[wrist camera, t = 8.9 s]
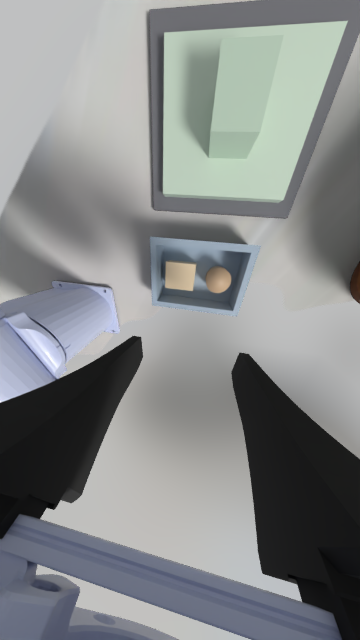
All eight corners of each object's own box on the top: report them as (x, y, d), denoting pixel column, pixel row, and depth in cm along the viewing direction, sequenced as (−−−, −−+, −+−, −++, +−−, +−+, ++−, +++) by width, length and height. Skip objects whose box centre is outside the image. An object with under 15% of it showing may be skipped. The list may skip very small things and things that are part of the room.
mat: (154, 210, 14) (153, 209, 13) (151, 18, 9) (149, 9, 8) (284, 218, 13) (287, 217, 12) (367, 2, 8) (375, -9, 7)
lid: (165, 196, 13) (153, 180, 10) (167, 49, 9) (148, -57, 6) (278, 202, 12) (306, 187, 9) (335, 40, 8) (419, -92, 5)
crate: (159, 296, 18) (152, 305, 16) (159, 238, 15) (149, 236, 12) (231, 305, 17) (237, 316, 15) (249, 245, 14) (260, 245, 11)
